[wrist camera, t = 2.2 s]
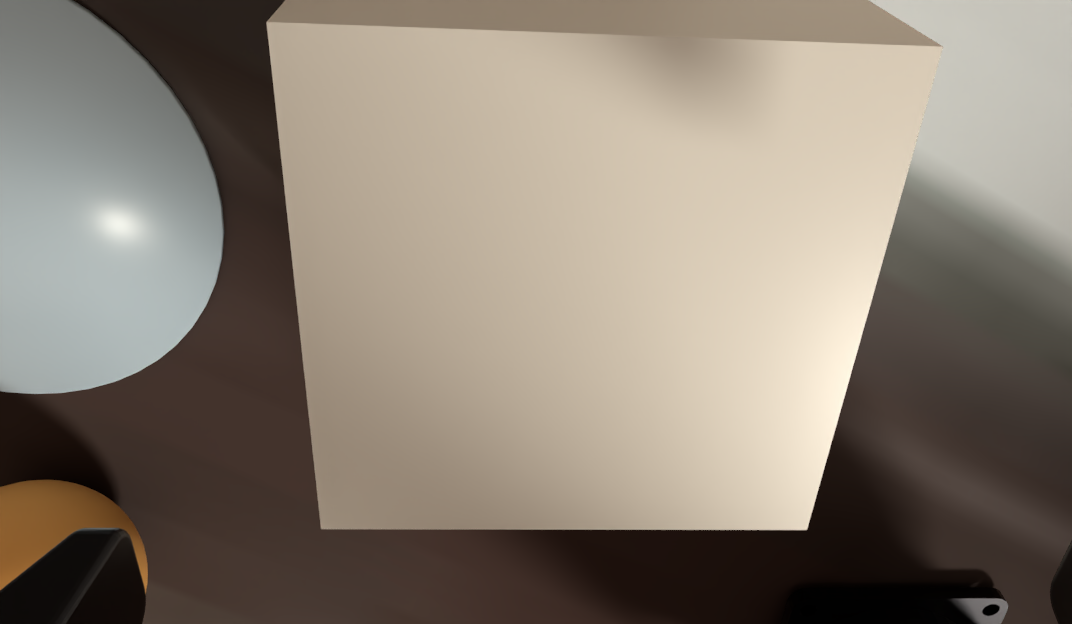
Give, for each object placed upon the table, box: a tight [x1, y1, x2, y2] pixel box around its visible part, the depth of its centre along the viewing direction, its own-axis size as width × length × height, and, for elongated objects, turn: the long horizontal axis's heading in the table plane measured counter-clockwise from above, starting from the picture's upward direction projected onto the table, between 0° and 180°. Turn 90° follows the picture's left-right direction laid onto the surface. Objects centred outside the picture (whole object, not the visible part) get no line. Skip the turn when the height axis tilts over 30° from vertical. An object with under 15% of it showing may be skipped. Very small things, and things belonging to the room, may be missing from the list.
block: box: [266, 0, 943, 530], centre depth 15 cm, size 8×8×8 cm
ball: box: [0, 480, 148, 594], centre depth 21 cm, size 5×5×5 cm
